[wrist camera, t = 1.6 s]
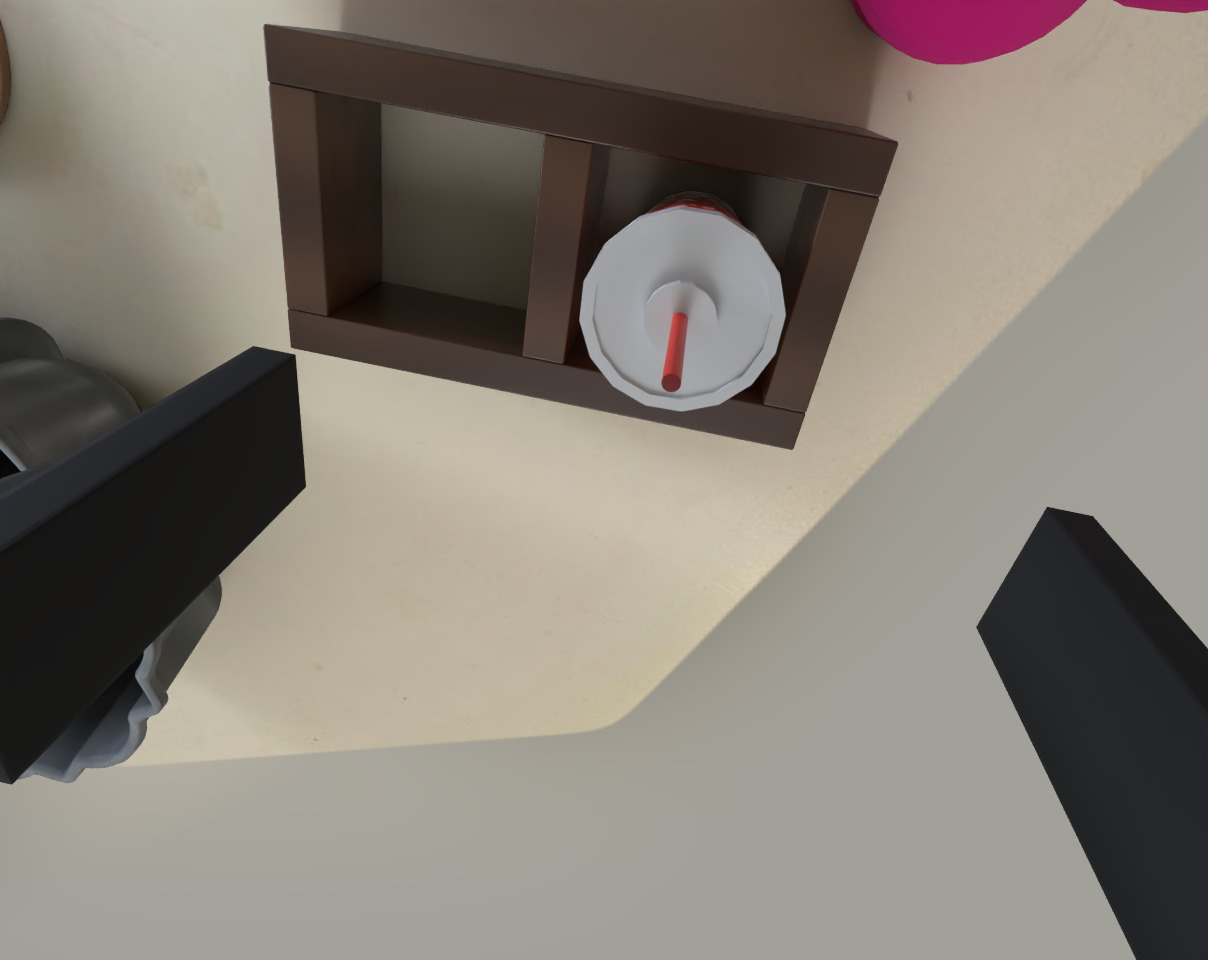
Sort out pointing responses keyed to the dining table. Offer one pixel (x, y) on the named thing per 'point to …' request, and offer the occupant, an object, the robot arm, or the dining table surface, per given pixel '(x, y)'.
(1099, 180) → the dining table surface
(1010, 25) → the pepper mill
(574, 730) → the dining table surface
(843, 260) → the holder
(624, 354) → the beverage cup
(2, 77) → the coaster
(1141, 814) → the robot arm
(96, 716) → the bundt pan
